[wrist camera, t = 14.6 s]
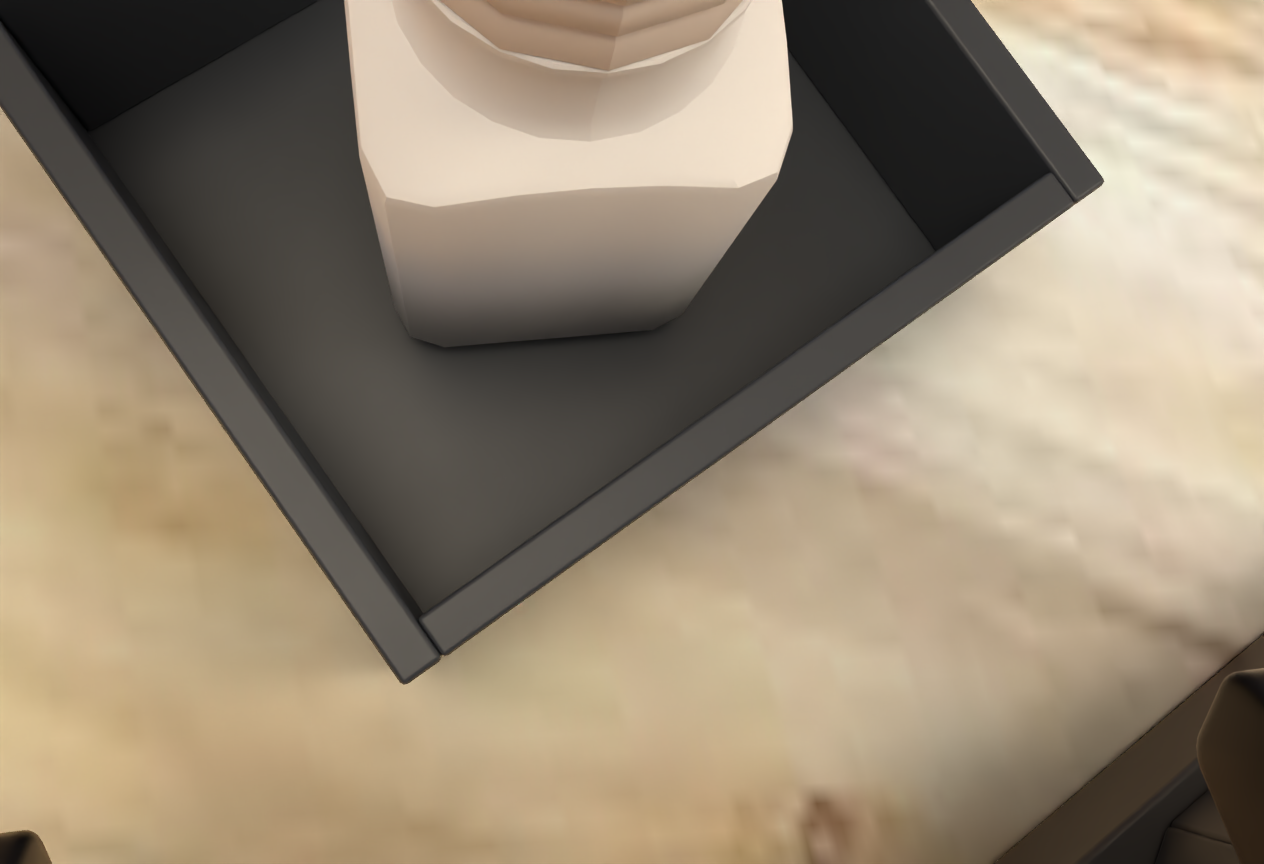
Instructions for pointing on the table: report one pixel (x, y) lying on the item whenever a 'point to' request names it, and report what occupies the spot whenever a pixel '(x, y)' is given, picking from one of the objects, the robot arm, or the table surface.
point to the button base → (1145, 799)
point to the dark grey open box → (521, 370)
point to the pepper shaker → (562, 155)
